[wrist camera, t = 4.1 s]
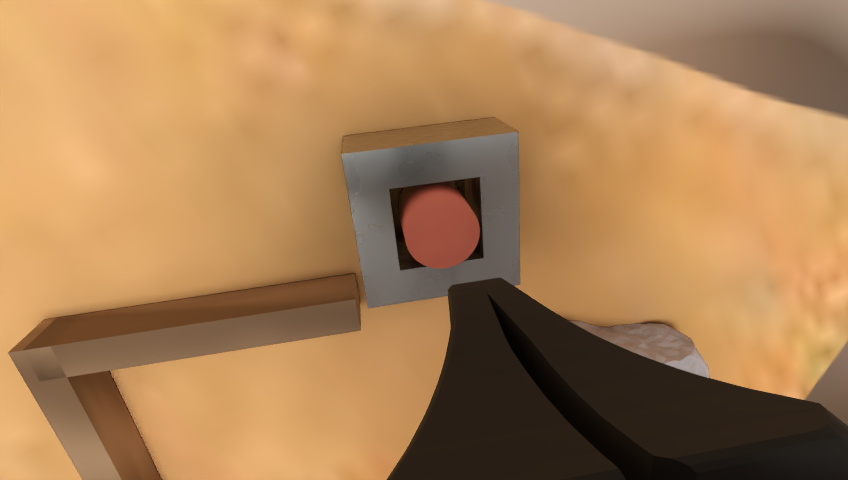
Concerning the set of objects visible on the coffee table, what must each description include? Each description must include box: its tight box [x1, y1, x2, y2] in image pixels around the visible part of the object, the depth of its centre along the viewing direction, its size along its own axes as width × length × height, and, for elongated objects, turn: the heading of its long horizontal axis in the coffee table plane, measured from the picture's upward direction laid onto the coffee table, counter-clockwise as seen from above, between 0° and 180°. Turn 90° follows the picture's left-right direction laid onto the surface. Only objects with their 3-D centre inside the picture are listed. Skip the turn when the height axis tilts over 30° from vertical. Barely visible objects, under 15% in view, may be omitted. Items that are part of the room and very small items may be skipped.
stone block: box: [568, 320, 710, 378], centre depth 24 cm, size 12×5×10 cm
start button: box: [398, 181, 480, 269], centre depth 17 cm, size 3×3×3 cm
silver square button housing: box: [341, 117, 520, 308], centre depth 18 cm, size 6×6×3 cm
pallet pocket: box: [8, 273, 361, 480], centre depth 23 cm, size 19×13×2 cm
